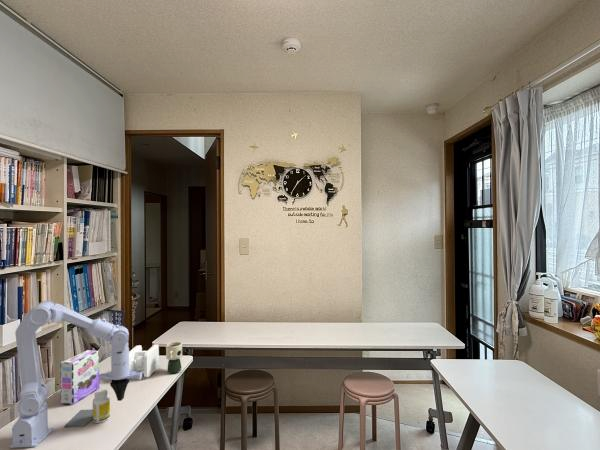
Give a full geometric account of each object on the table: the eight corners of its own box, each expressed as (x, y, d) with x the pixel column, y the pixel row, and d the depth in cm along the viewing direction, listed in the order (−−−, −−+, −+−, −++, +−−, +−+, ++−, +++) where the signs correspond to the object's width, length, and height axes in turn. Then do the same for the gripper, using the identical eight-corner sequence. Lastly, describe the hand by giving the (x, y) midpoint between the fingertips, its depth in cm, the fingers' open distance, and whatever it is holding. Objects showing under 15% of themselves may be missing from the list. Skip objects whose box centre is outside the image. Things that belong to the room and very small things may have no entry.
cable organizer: (146, 381, 154) (146, 355, 154) (122, 381, 153) (122, 355, 153) (159, 366, 169) (159, 343, 169) (137, 367, 168) (137, 343, 168)
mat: (85, 426, 120) (85, 424, 120) (64, 427, 119) (64, 425, 119) (100, 410, 130) (100, 409, 130) (80, 411, 129) (80, 409, 129)
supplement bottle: (113, 414, 127) (112, 388, 127) (105, 423, 121) (104, 395, 121) (98, 415, 127) (97, 388, 127) (89, 423, 121) (89, 396, 121)
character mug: (178, 376, 158) (177, 348, 157) (162, 376, 157) (162, 348, 157) (185, 366, 168) (185, 340, 168) (170, 366, 168) (170, 340, 168)
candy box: (72, 405, 134) (72, 363, 133) (60, 404, 135) (59, 362, 135) (100, 388, 147) (99, 350, 147) (88, 387, 148) (87, 349, 148)
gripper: (145, 356, 129) (145, 392, 129) (104, 358, 128) (105, 394, 128) (137, 364, 122) (137, 402, 122) (94, 366, 121) (95, 404, 121)
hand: (120, 399), depth 124 cm, fingers closed
